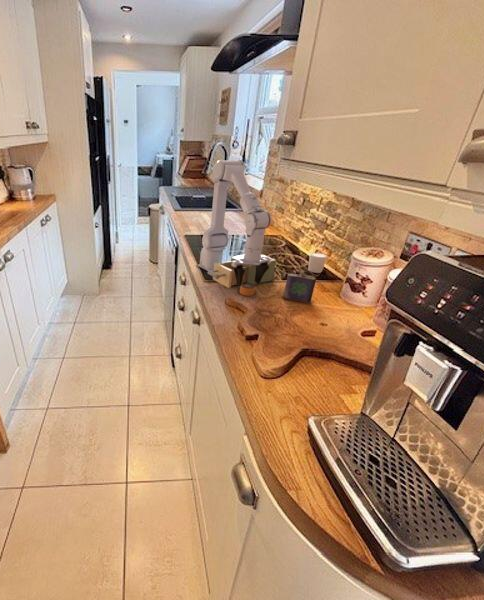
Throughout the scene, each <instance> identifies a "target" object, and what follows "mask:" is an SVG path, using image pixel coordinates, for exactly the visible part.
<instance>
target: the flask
mask: <svg viewBox="0 0 484 600" xmlns="http://www.w3.org/2000/svg"><path fill="white" fill-rule="evenodd" d="M316 282H317V279H316V277H314V276H312V275H307V274H306V273H305V270H300V272H299V274H297V273H288V274H287V275H286V281H285V286H284V290H283V291H284V292H283V295H282V298H283V299H286V300H290V301H295V302H302V303H306V304H311V301H312V298H313V294H314V289H315V287H316V286H315V285H316Z"/></svg>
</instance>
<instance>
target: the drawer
mask: <svg viewBox="0 0 484 600" xmlns="http://www.w3.org/2000/svg"><path fill="white" fill-rule="evenodd" d="M231 265H232V261H231V260H229V261H224V262H222V263H221V264H219V263H214V271H211V270H209V271H207V272H206V273H207V274H208V275H210V276H211V277H212V280H213V281H215V282H217V283H218V284H220V285H222V286H224V287H226V288H228V289H231V288H232V286H236V285H237V283H236V276H235V272H234V269H233V267H232V266H231ZM242 267H243V268H244V269H245V272H244V275H243V279H242V283H244V282H246V281H247V274H248V268H249V267H248V266H246V265H245V266H242Z"/></svg>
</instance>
